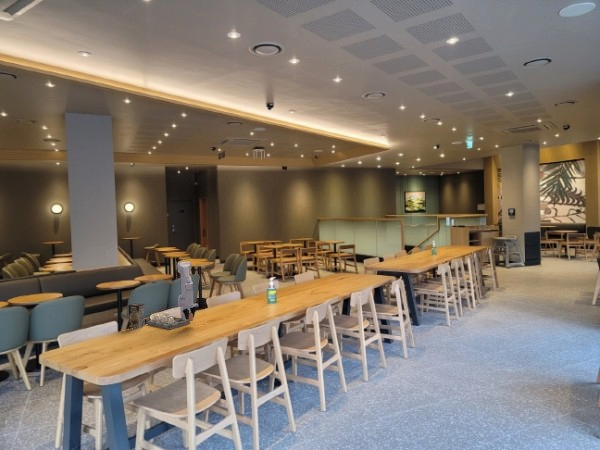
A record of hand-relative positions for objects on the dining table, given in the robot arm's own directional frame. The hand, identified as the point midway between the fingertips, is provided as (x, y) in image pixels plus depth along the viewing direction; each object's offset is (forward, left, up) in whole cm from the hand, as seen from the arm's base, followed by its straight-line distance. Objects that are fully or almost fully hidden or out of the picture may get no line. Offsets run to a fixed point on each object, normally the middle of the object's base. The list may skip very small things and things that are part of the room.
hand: (189, 318), depth 297 cm
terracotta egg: (0, 0, -2) cm, 2 cm away
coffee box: (+20, -34, -6) cm, 40 cm away
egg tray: (+4, -19, -6) cm, 20 cm away
